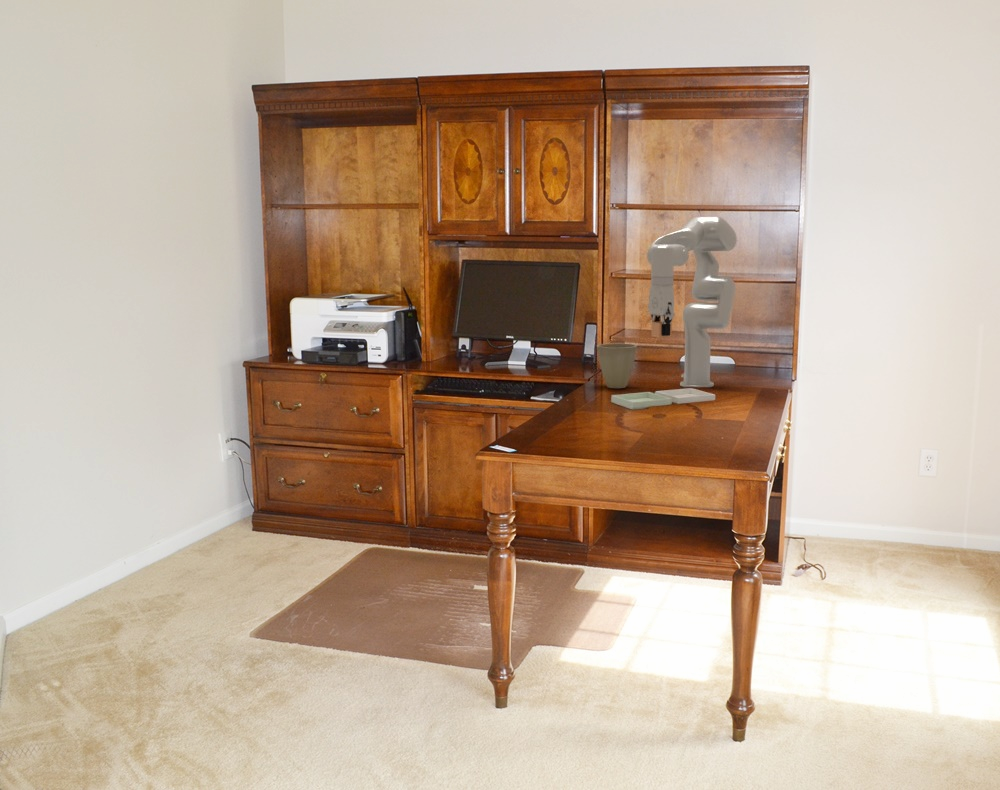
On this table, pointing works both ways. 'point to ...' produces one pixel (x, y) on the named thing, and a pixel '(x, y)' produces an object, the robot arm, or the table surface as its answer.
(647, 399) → the green tray
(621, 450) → the table surface
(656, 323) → the brown cube
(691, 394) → the white tray
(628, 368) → the plant pot
